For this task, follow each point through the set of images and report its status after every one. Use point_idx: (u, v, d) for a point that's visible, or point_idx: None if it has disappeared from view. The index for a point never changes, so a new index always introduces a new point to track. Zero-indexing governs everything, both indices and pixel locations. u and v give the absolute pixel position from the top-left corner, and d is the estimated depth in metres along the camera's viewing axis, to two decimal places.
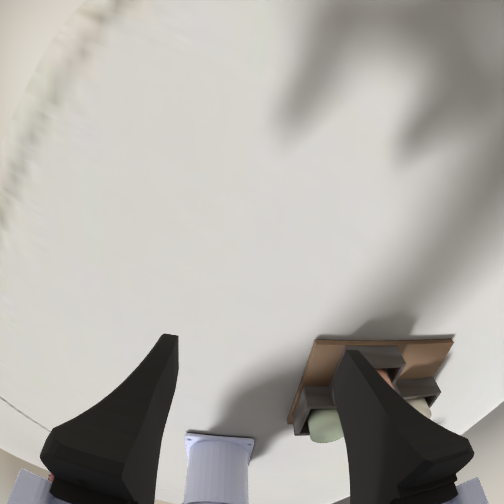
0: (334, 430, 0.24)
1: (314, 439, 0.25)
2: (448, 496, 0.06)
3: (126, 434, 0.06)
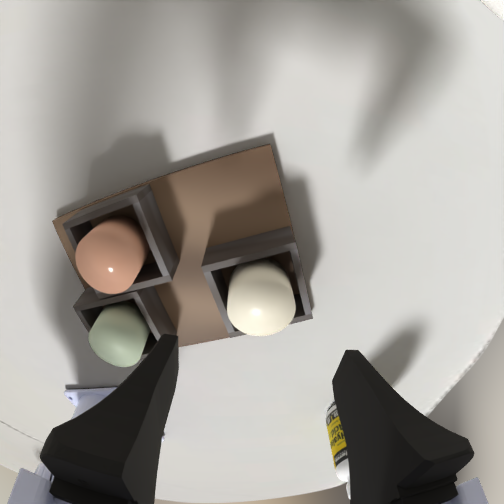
0: (114, 340, 0.17)
1: (107, 359, 0.18)
2: (448, 496, 0.06)
3: (126, 434, 0.06)
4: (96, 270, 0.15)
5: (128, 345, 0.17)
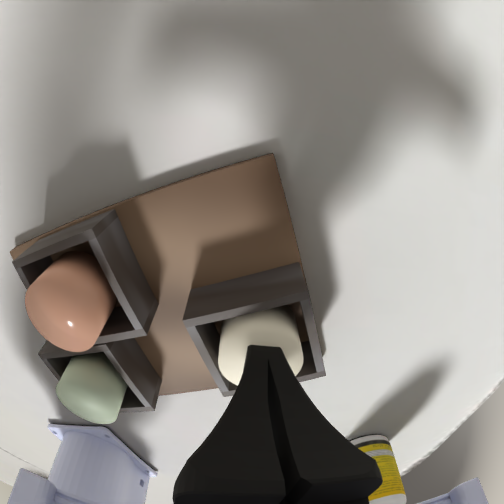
0: (84, 398, 0.13)
1: (80, 415, 0.14)
2: None
3: (265, 451, 0.07)
4: (51, 324, 0.11)
5: (101, 405, 0.13)
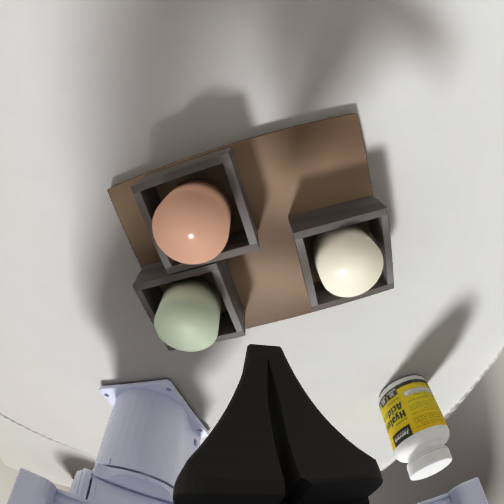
0: (186, 320, 0.16)
1: (173, 344, 0.17)
2: None
3: (265, 451, 0.07)
4: (178, 236, 0.14)
5: (204, 325, 0.17)
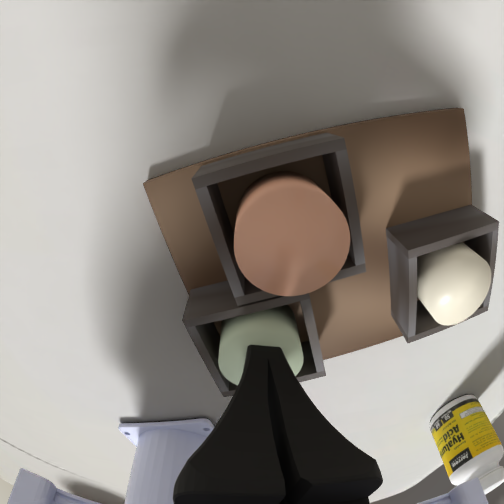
0: None
1: None
2: None
3: (265, 451, 0.07)
4: (273, 257, 0.10)
5: (286, 358, 0.13)
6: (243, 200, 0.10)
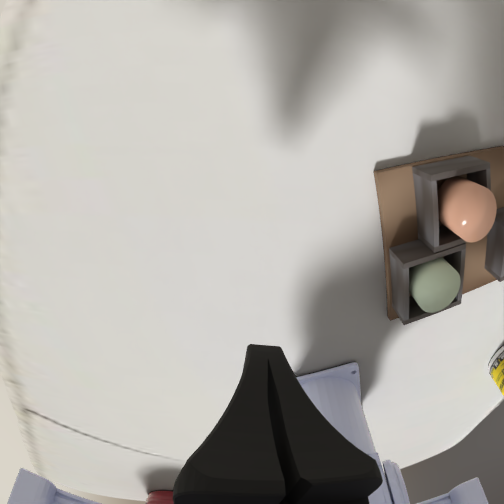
0: (444, 284, 0.18)
1: (425, 307, 0.19)
2: None
3: (265, 451, 0.07)
4: (469, 220, 0.15)
5: (452, 287, 0.18)
6: (449, 190, 0.16)
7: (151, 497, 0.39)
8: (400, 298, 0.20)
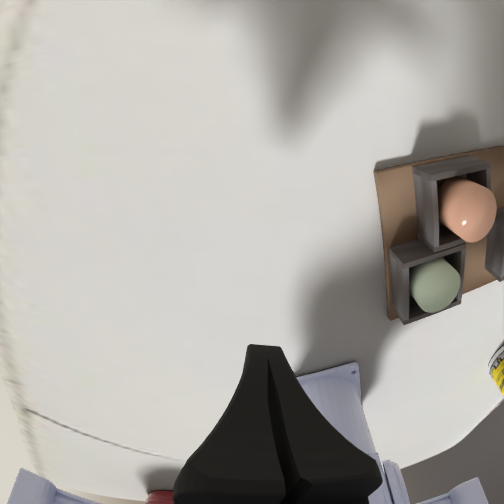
0: (444, 284, 0.18)
1: (425, 307, 0.19)
2: None
3: (265, 451, 0.07)
4: (469, 220, 0.15)
5: (452, 287, 0.18)
6: (449, 190, 0.16)
7: (151, 497, 0.39)
8: (400, 298, 0.20)
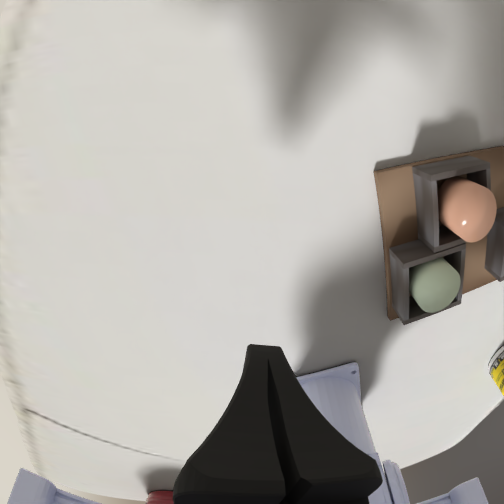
0: (444, 284, 0.18)
1: (425, 307, 0.19)
2: None
3: (265, 451, 0.07)
4: (469, 220, 0.15)
5: (452, 287, 0.18)
6: (449, 190, 0.16)
7: (151, 497, 0.39)
8: (400, 298, 0.20)
